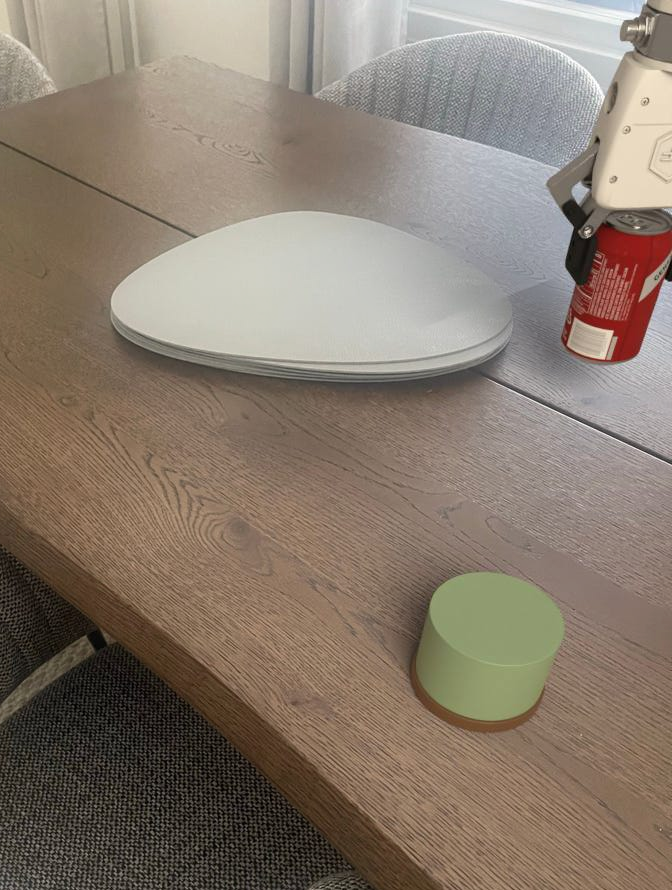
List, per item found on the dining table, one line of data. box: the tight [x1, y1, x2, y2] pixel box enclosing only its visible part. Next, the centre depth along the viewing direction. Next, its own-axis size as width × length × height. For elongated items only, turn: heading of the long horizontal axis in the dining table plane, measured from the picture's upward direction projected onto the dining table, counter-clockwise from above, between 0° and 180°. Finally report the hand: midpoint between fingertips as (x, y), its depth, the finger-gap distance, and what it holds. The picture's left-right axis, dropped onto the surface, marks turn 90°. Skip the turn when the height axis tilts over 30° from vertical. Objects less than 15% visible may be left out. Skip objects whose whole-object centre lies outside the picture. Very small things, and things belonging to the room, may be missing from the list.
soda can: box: [560, 209, 672, 367], centre depth 83 cm, size 7×7×12 cm
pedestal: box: [409, 571, 566, 733], centre depth 65 cm, size 9×9×6 cm
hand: (621, 274), depth 82 cm, fingers closed on soda can, 6 cm apart
